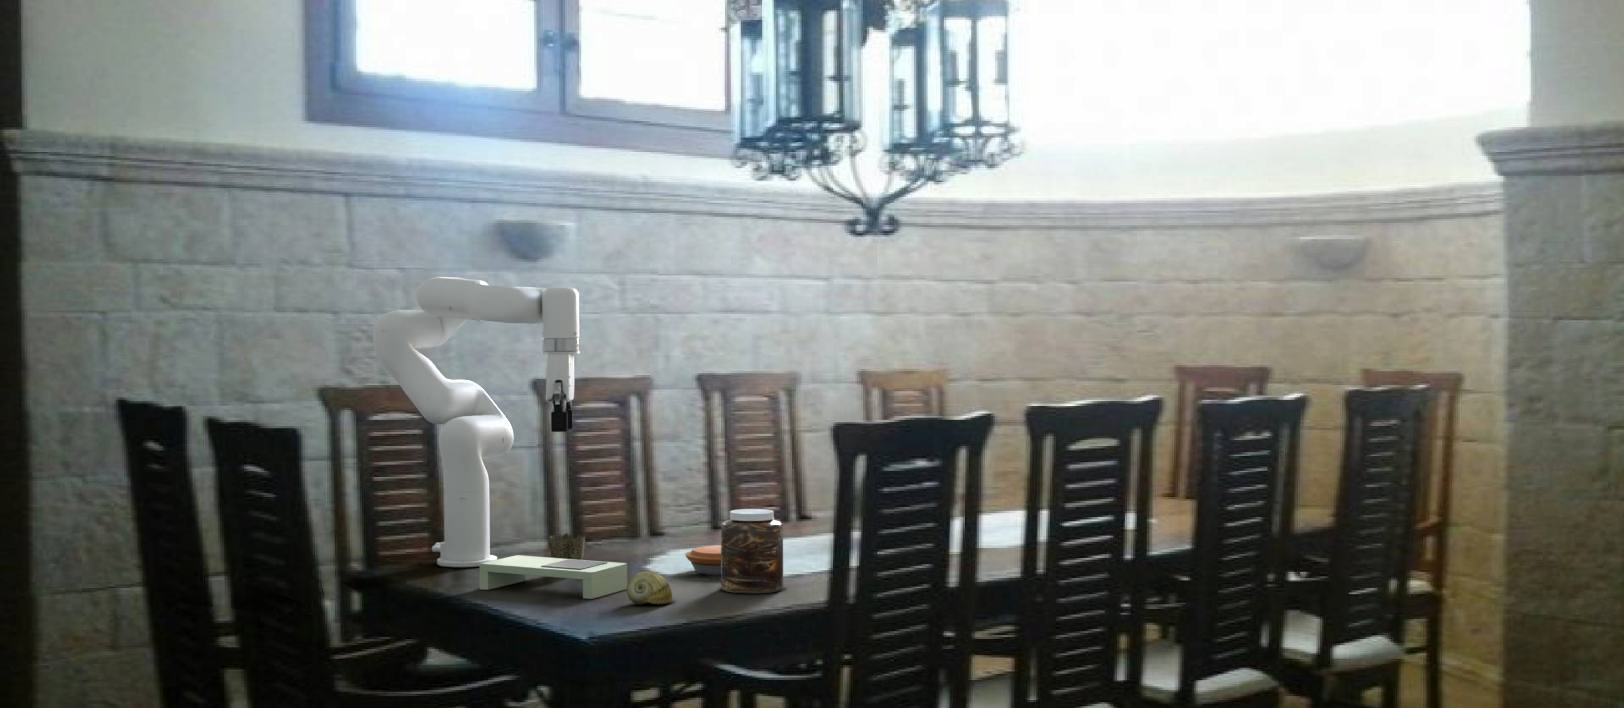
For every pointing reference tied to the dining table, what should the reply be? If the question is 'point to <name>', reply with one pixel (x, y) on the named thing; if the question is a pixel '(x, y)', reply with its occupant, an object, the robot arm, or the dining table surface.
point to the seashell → (649, 589)
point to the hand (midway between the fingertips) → (562, 430)
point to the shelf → (556, 573)
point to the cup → (567, 546)
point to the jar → (752, 552)
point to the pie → (706, 559)
